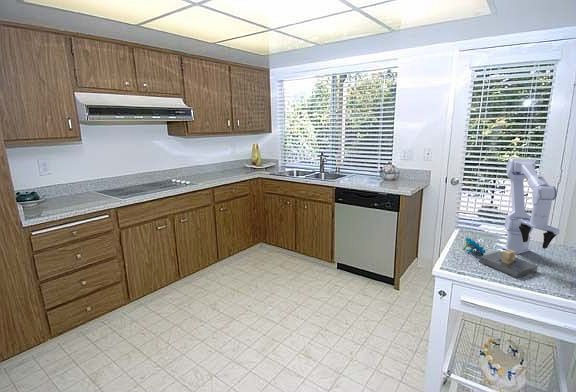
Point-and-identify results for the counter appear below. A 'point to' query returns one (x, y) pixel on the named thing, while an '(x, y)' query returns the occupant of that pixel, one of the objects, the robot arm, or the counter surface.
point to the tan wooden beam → (508, 256)
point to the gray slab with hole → (508, 265)
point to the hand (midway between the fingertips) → (534, 244)
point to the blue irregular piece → (473, 246)
